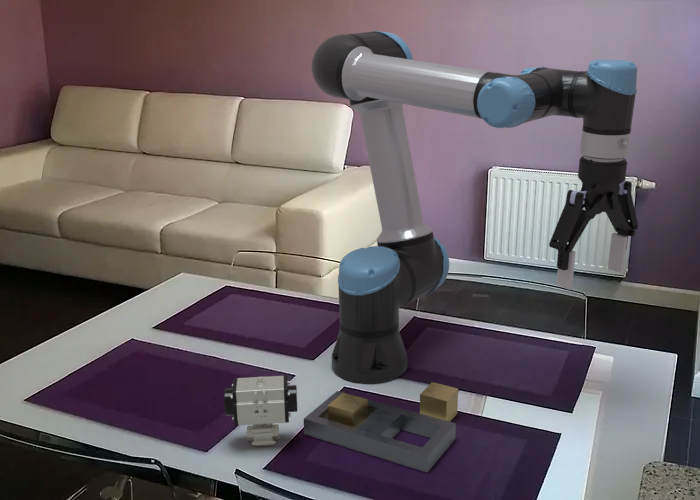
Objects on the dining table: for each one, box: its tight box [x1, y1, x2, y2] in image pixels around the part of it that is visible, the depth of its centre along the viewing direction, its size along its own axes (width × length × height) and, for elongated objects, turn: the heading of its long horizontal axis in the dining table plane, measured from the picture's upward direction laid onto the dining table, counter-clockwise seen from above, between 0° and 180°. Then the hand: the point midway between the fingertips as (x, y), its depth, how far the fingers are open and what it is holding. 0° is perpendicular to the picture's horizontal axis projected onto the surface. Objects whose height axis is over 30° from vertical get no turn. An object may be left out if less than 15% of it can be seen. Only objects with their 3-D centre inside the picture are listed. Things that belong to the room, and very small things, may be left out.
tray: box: [303, 390, 457, 474], centre depth 132 cm, size 23×11×3 cm, turn 60°
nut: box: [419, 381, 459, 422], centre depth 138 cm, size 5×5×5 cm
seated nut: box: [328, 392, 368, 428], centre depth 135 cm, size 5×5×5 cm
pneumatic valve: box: [223, 375, 298, 448], centre depth 130 cm, size 6×12×12 cm, turn 95°
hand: (590, 278), depth 136 cm, fingers open, 13 cm apart
